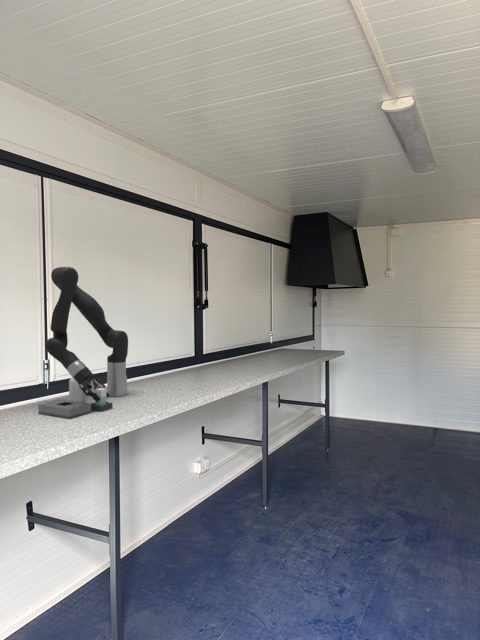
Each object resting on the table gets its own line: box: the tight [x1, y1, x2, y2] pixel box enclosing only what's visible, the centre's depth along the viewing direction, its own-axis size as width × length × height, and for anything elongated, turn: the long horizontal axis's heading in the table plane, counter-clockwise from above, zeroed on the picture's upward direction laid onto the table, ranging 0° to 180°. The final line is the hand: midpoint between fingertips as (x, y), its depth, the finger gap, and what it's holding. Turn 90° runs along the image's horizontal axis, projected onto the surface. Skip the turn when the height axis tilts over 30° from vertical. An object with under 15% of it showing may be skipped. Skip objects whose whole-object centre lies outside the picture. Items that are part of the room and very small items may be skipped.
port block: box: [37, 398, 92, 420], centre depth 195 cm, size 12×18×4 cm, turn 65°
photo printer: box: [68, 377, 89, 403], centre depth 214 cm, size 10×4×12 cm, turn 60°
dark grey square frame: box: [91, 401, 113, 412], centre depth 204 cm, size 7×7×2 cm
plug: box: [94, 388, 108, 405], centre depth 204 cm, size 4×4×9 cm
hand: (103, 398), depth 203 cm, fingers open, 8 cm apart
